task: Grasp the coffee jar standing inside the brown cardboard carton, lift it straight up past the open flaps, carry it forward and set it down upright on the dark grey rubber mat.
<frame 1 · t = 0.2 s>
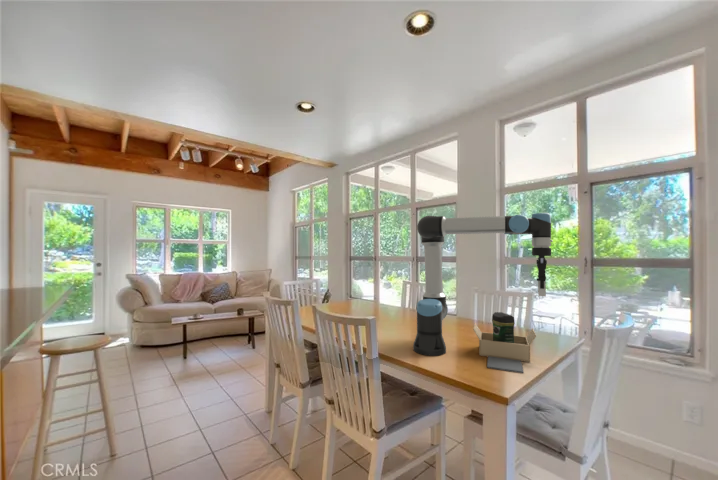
hand: (541, 294, 137), 28 cm above the table, fingers open, 13 cm apart
carton: (503, 353, 140), on the table
mat: (504, 364, 126), on the table
coffee jar: (503, 354, 140), resting in carton
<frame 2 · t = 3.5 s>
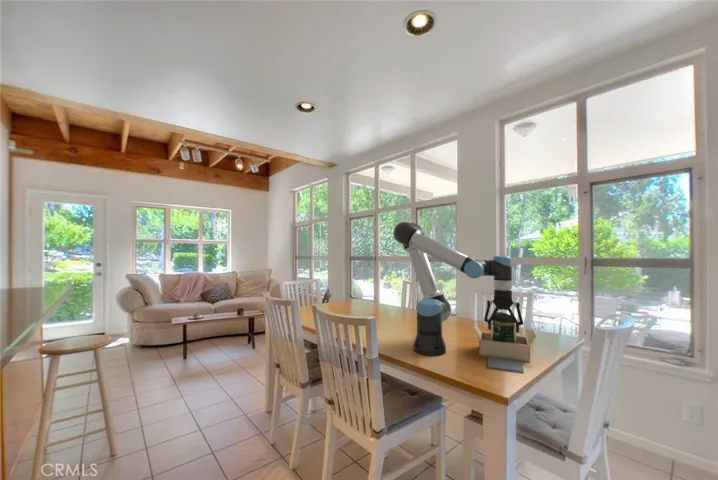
hand: (503, 338, 140), 7 cm above the table, fingers closed on coffee jar, 9 cm apart
coffee jar: (503, 353, 140), resting in carton, touching gripper
when the fingers open (8 cm above the table, at t = 9.4 s): coffee jar stays where it is, resting on mat.
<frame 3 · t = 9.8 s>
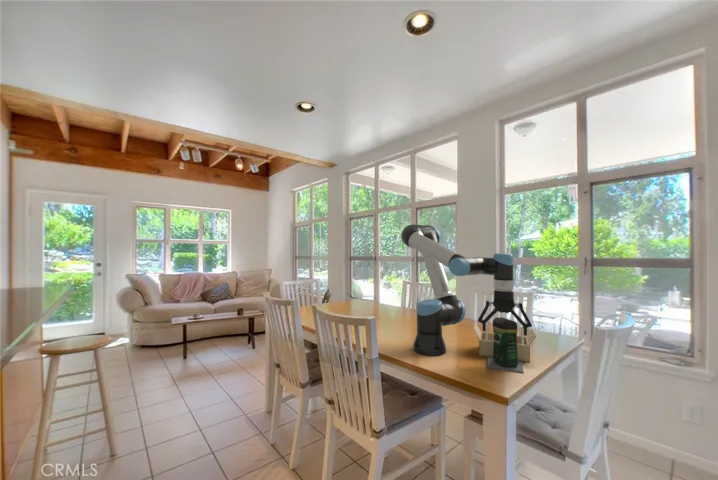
hand: (504, 341, 126), 10 cm above the table, fingers open, 13 cm apart
coffee jar: (505, 363, 126), resting on mat
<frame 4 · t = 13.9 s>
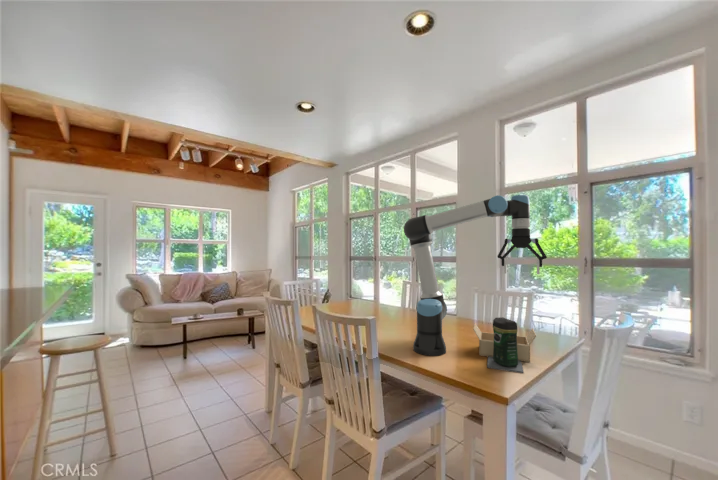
hand: (521, 273, 141), 37 cm above the table, fingers open, 13 cm apart
nothing on the table moved.
at the end: coffee jar inside the target area on the mat (0.3 cm from its centre), point 0.4 cm above the mat's base; coffee jar tilted 0°; the gripper is holding nothing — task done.
